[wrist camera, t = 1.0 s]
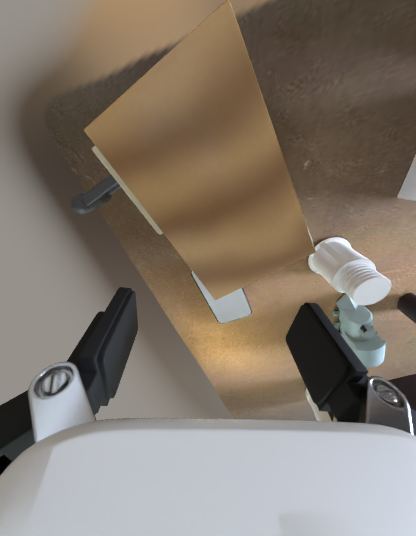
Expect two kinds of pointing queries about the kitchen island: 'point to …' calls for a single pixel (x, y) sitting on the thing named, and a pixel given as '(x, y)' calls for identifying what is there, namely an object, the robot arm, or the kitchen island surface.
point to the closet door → (106, 193)
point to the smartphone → (226, 303)
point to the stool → (373, 338)
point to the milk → (409, 184)
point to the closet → (208, 159)
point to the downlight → (349, 271)
